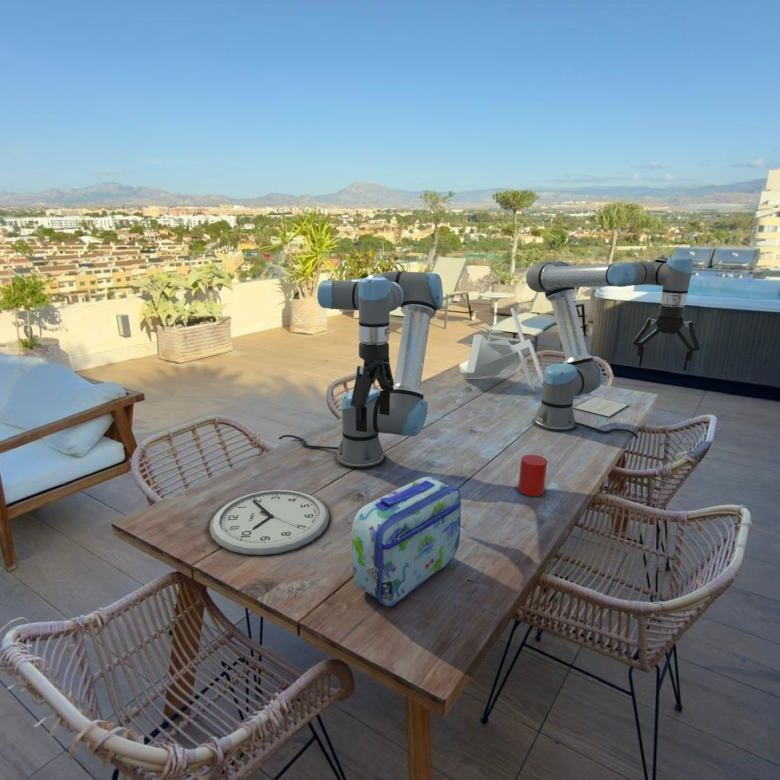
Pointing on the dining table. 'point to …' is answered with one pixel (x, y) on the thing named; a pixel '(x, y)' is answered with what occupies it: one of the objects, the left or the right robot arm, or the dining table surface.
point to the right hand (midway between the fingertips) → (661, 367)
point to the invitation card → (601, 406)
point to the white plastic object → (499, 356)
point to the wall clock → (269, 522)
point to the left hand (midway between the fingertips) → (373, 422)
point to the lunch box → (405, 538)
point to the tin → (532, 475)
